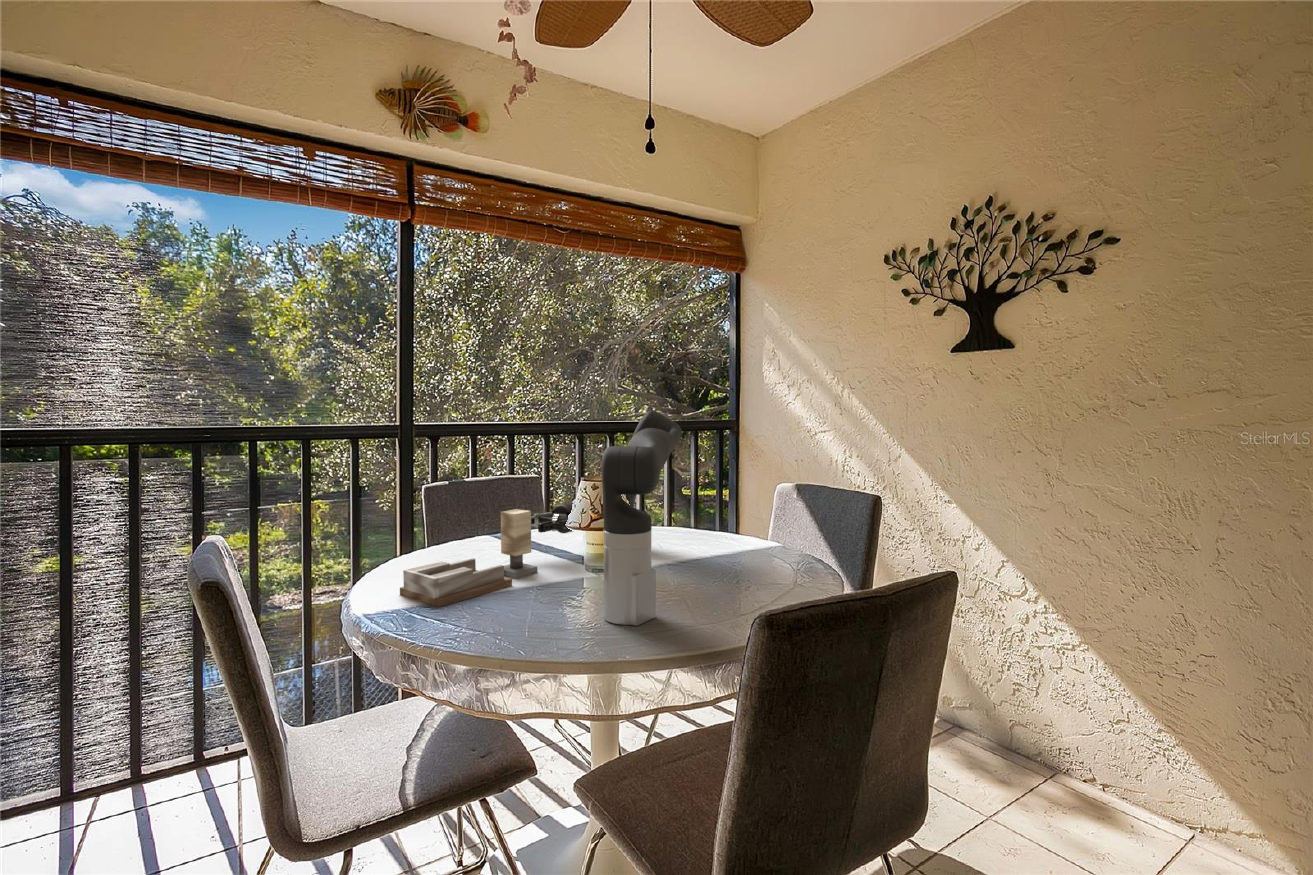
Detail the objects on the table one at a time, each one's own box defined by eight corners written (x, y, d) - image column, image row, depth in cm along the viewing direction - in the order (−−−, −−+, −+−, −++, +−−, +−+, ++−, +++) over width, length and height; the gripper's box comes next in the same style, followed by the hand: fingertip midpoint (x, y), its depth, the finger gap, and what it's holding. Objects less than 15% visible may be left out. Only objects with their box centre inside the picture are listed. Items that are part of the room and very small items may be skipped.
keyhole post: (537, 572, 161) (536, 511, 160) (515, 579, 155) (514, 515, 154) (517, 568, 165) (517, 508, 164) (495, 574, 159) (494, 512, 158)
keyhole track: (512, 585, 150) (511, 561, 149) (439, 607, 134) (438, 580, 134) (472, 575, 158) (472, 552, 158) (399, 594, 143) (399, 569, 142)
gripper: (554, 499, 179) (507, 507, 166) (593, 505, 170) (547, 514, 157) (554, 527, 179) (507, 537, 166) (593, 534, 171) (547, 545, 158)
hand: (527, 526), depth 162 cm, fingers open, 8 cm apart
